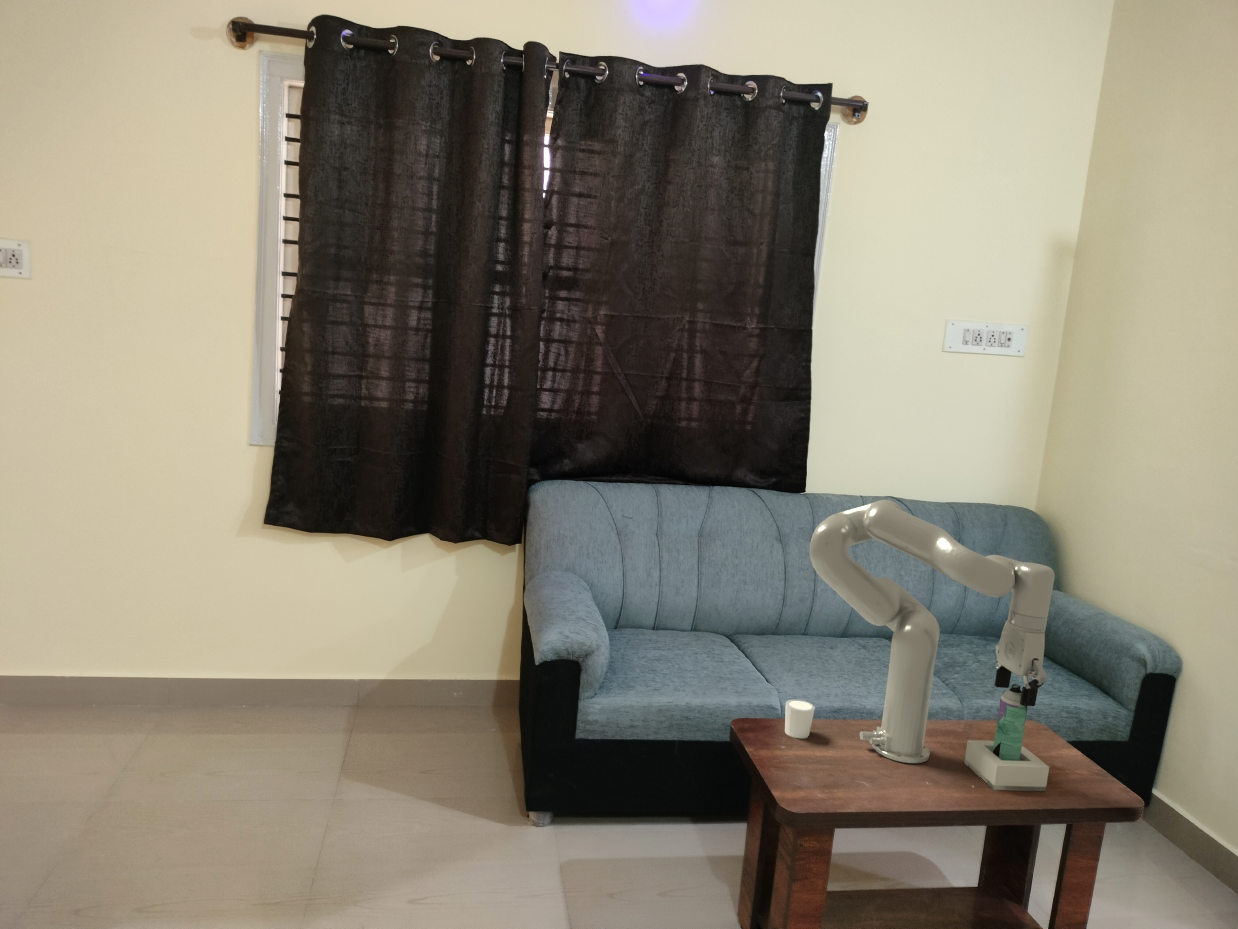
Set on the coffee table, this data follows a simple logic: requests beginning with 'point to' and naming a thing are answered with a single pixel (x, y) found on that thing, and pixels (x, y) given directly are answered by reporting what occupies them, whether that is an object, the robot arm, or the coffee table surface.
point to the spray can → (1010, 725)
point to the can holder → (1006, 768)
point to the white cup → (798, 718)
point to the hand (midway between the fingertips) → (1014, 696)
